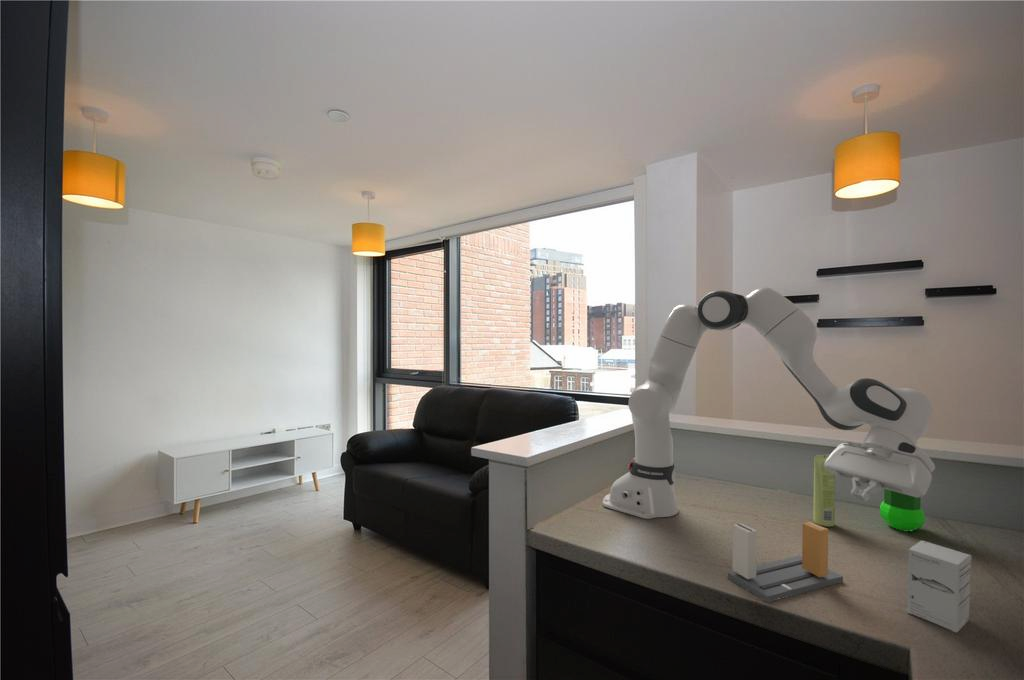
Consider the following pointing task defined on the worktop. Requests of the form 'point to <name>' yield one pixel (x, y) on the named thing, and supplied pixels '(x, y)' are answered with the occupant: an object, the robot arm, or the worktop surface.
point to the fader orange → (815, 549)
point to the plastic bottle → (902, 511)
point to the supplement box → (939, 585)
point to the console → (783, 579)
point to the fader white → (744, 550)
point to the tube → (823, 493)
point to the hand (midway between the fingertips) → (858, 497)
